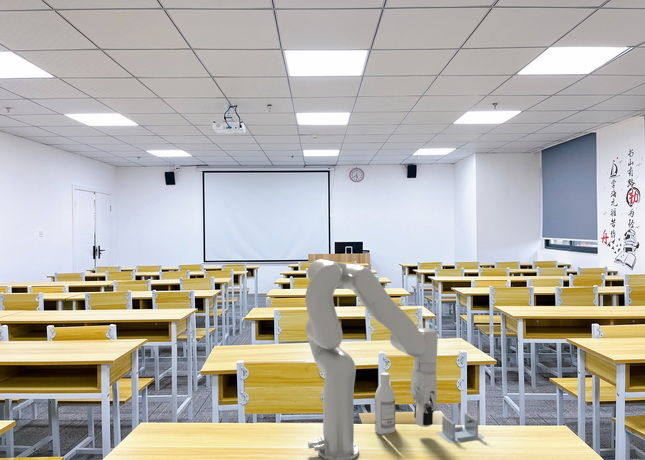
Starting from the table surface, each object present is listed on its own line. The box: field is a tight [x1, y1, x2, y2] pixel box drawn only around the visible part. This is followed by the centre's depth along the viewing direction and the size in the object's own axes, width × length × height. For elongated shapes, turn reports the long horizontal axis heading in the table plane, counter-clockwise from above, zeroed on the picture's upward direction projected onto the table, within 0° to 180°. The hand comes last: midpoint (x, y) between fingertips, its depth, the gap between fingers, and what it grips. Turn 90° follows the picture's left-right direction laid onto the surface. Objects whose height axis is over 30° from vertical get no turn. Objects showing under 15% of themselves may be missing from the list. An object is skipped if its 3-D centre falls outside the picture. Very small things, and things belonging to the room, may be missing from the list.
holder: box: [436, 425, 485, 444], centre depth 147 cm, size 13×8×2 cm, turn 107°
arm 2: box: [464, 412, 479, 437], centre depth 148 cm, size 2×6×6 cm, turn 17°
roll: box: [415, 401, 432, 428], centre depth 147 cm, size 5×5×7 cm
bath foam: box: [374, 372, 396, 436], centre depth 152 cm, size 7×7×20 cm
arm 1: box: [441, 415, 456, 441], centre depth 146 cm, size 2×6×6 cm, turn 17°
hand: (423, 420), depth 147 cm, fingers closed on roll, 5 cm apart
